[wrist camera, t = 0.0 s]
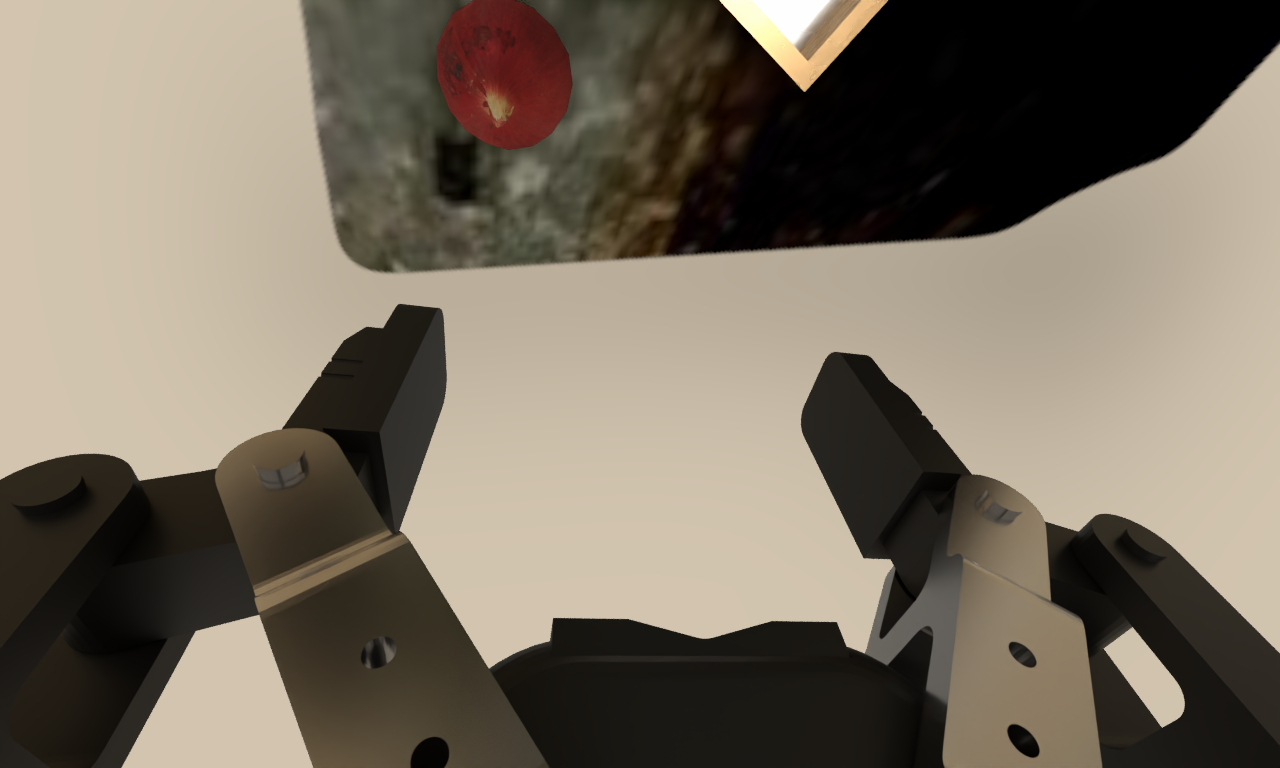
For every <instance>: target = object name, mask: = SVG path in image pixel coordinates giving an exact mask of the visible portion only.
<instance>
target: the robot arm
mask: <svg viewBox="0 0 1280 768" xmlns="http://www.w3.org/2000/svg"><path fill="white" fill-rule="evenodd" d="M445 355H446V354H445V336H444V319H443V313H442V310H441V309H440V308H432V307H423V306H414V305H405V304H398V305H397V306H396V308H395V310H394V311H393V313H392V315H391V316H390V318H389V320H388V321H387V323H386V324H385V326H384V328H372V327H366V328H364V329H362V330H360V331H359V332H357V333H356V334H354V335H352V336H351V337H349V338H347V339H346V340H344V341H343V343H342V344H341V346H340V347H339V348H338V350H337V351H336V353H335V354H334V355H333V357H332V361H331V362H329V363H328V364H327V365H326V367H325V368H324V370H323V371H322V373H321V377H318V378H317V380H316V381H315V383H314V384H313V386H312V387H311V388H310V390H309V391H308V393H307V394H306V395H305V397H304V398H303V400H302V401H301V403H300V404H299V406H298V407H297V408H296V410H295V411H294V413H293V414H292V415H291V417H290V418H289V420H288V421H287V423H286V424H285V426H284V427H283V428H282V430H276V431H272V432H268V433H264V434H262V435H259V436H256V437H254V438H251V439H250V440H247V441H245V442H244V443H242V444H240V445H238V446H237V447H236V448H234V449H233V450H232V451H230V452H229V453H228V454H227V455H226V456H225V457H224V458H223V460H222V461H221V463H220V464H219V466H218V468H216V469H212V470H206V471H201V472H195V473H188V474H181V475H175V476H168V477H163V478H155V479H149V480H142V481H139V480H138V478H137V476H136V475H135V473H134V471H133V470H132V468H131V466H130V465H129V464H128V463H127V462H125V461H124V460H122V459H120V458H117V457H115V456H110V455H103V454H79V455H70V456H65V457H60V458H55V459H51V460H47V461H44V462H40V463H37V464H35V465H32V466H29V467H26V468H24V469H22V470H19V471H17V472H15V473H13V474H11V475H9V476H7V477H5V478H3V479H1V480H0V768H121V767H122V765H123V763H124V762H125V760H126V758H127V756H128V754H129V752H130V751H131V749H132V747H133V745H134V743H135V742H136V740H137V738H138V736H139V734H140V732H141V731H142V729H143V727H144V725H145V723H146V721H147V719H148V718H149V716H150V714H151V712H152V710H153V708H154V707H155V705H156V703H157V701H158V699H159V697H160V696H161V694H162V692H163V690H164V688H165V686H166V684H167V683H168V681H169V679H170V677H171V675H172V673H173V672H174V669H175V668H176V666H177V664H178V662H179V661H180V659H181V657H182V655H183V653H184V651H185V649H186V647H187V646H188V644H189V642H190V640H191V638H192V637H193V635H194V633H195V631H197V630H201V629H205V628H209V627H213V626H216V625H221V624H224V623H228V622H232V621H236V620H240V619H244V618H248V617H251V616H256V615H260V618H261V621H262V624H263V626H264V629H265V632H266V635H267V638H268V641H269V644H270V646H271V649H272V652H273V655H274V657H275V661H276V663H277V666H278V669H279V672H280V675H281V678H282V680H283V683H284V686H285V689H286V692H287V694H288V697H289V700H290V703H291V706H292V708H293V711H294V714H295V717H296V720H297V723H298V726H299V728H300V731H301V734H302V737H303V740H304V742H305V745H306V748H307V751H308V754H309V757H310V760H311V762H312V765H313V768H1280V653H1279V652H1278V651H1277V650H1275V648H1274V647H1273V646H1271V644H1270V643H1269V642H1268V641H1267V640H1266V639H1265V638H1264V637H1263V636H1262V635H1261V634H1260V633H1259V632H1258V631H1257V630H1256V629H1255V628H1254V627H1252V625H1251V624H1250V623H1249V622H1247V620H1246V619H1245V618H1244V617H1243V616H1241V614H1240V613H1238V612H1237V610H1236V609H1235V608H1234V607H1233V606H1231V604H1230V603H1228V602H1227V601H1226V599H1224V597H1223V596H1222V595H1220V594H1219V593H1218V592H1217V591H1216V590H1215V589H1214V588H1213V587H1212V586H1211V585H1210V584H1209V583H1208V582H1207V581H1206V580H1205V579H1204V578H1203V577H1202V576H1201V575H1200V574H1199V573H1198V572H1197V571H1196V570H1195V569H1194V568H1193V567H1192V566H1191V565H1190V564H1189V563H1188V562H1187V561H1186V560H1185V559H1184V558H1183V557H1182V556H1181V555H1180V554H1179V553H1178V552H1177V551H1176V550H1175V549H1174V548H1173V547H1172V546H1171V545H1170V544H1168V543H1167V542H1166V541H1164V540H1163V539H1162V538H1161V537H1159V536H1158V535H1156V534H1155V533H1153V532H1151V531H1150V530H1148V529H1147V528H1145V527H1143V526H1141V525H1139V524H1137V523H1135V522H1133V521H1131V520H1128V519H1126V518H1123V517H1120V516H1116V515H1111V514H1099V515H1096V516H1095V517H1094V518H1093V519H1091V520H1090V521H1089V522H1088V523H1087V525H1085V526H1084V527H1083V528H1082V529H1081V530H1080V531H1079V532H1077V531H1074V530H1071V529H1067V528H1064V527H1061V526H1058V525H1054V524H1051V523H1048V522H1045V521H1044V519H1043V517H1042V515H1041V514H1040V512H1039V511H1038V510H1037V508H1036V507H1035V506H1034V505H1033V504H1032V503H1031V502H1030V501H1029V500H1028V499H1027V498H1026V497H1024V496H1023V495H1022V494H1020V493H1019V492H1018V491H1016V490H1015V489H1013V488H1011V487H1010V486H1008V485H1006V484H1004V483H1002V482H1000V481H998V480H995V479H992V478H989V477H986V476H981V475H972V474H971V473H970V471H969V470H968V469H967V468H966V466H965V465H964V464H963V463H962V462H961V460H960V459H959V458H958V457H957V455H956V454H955V453H954V452H953V450H952V449H951V448H950V447H949V445H948V444H947V443H946V442H945V440H944V439H943V438H942V437H941V435H940V434H939V433H938V432H937V430H933V425H932V424H931V423H930V422H929V420H928V419H927V418H926V417H925V416H922V412H921V410H920V409H919V408H918V407H917V405H916V404H915V403H914V402H913V401H912V399H911V398H910V397H909V396H908V395H907V394H906V393H905V392H903V391H902V390H901V389H899V388H898V387H897V386H895V385H894V384H893V383H891V382H890V381H889V380H888V378H887V377H886V376H885V374H884V373H883V372H882V371H881V369H880V368H879V367H878V365H877V364H876V363H875V362H874V360H873V359H872V358H871V357H869V356H867V355H859V354H850V353H840V352H833V353H831V354H830V355H829V356H828V357H827V358H826V359H825V361H824V363H823V366H822V368H821V370H820V372H819V374H818V377H817V379H816V381H815V383H814V386H813V388H812V390H811V392H810V394H809V396H808V399H807V401H806V403H805V405H804V408H803V411H802V417H801V428H802V433H803V435H804V437H805V440H806V442H807V444H808V446H809V448H810V450H811V452H812V454H813V456H814V458H815V460H816V462H817V464H818V466H819V468H820V470H821V472H822V474H823V476H824V478H825V480H826V483H827V485H828V487H829V489H830V491H831V493H832V495H833V497H834V499H835V501H836V503H837V505H838V507H839V509H840V511H841V513H842V515H843V517H844V519H845V521H846V523H847V525H848V527H849V529H850V531H851V533H852V535H853V537H854V540H855V542H856V544H857V545H858V547H859V549H860V552H861V554H862V556H863V558H871V559H891V561H892V563H893V564H894V566H893V568H892V569H891V570H890V572H889V573H888V574H887V576H886V579H885V582H884V585H883V589H882V593H881V597H880V600H879V604H878V608H877V612H876V616H875V619H874V623H873V627H872V631H871V634H870V638H869V642H868V646H867V649H866V652H865V654H864V653H862V652H859V651H857V650H854V649H852V648H849V647H846V644H845V642H844V639H843V637H842V634H841V632H840V629H839V627H838V624H837V622H789V621H788V622H787V621H771V622H768V623H764V624H761V625H757V626H753V627H750V628H746V629H743V630H739V631H735V632H732V633H728V634H725V635H721V636H718V637H714V638H710V639H700V638H696V637H692V636H688V635H685V634H681V633H677V632H674V631H670V630H666V629H663V628H659V627H655V626H651V625H648V624H644V623H640V622H637V621H633V620H629V619H581V618H553V624H552V631H551V638H550V641H549V642H545V643H542V644H538V645H534V646H532V647H529V648H527V649H524V650H522V651H519V652H517V653H515V654H513V655H511V656H509V657H507V658H506V659H504V660H502V661H500V662H498V663H497V664H495V665H494V666H492V667H491V668H490V669H489V668H488V667H487V665H486V664H485V662H484V660H483V659H482V657H481V655H480V654H479V652H478V651H477V649H476V647H475V646H474V644H473V642H472V641H471V639H470V638H469V636H468V634H467V633H466V631H465V630H464V628H463V626H462V625H461V623H460V621H459V620H458V618H457V616H456V615H455V613H454V612H453V610H452V608H451V607H450V605H449V603H448V602H447V600H446V599H445V597H444V595H443V594H442V592H441V590H440V589H439V587H438V586H437V584H436V582H435V581H434V579H433V577H432V576H431V574H430V573H429V571H428V569H427V568H426V566H425V564H424V563H423V561H422V560H421V558H420V556H419V555H418V553H417V551H416V550H415V548H414V547H413V545H412V544H411V542H410V541H409V539H408V538H407V537H406V536H405V535H404V534H403V533H402V532H400V531H399V530H400V527H401V524H402V521H403V518H404V515H405V512H406V509H407V507H408V504H409V501H410V498H411V495H412V493H413V490H414V486H415V484H416V481H417V478H418V475H419V472H420V470H421V466H422V464H423V461H424V458H425V455H426V452H427V450H428V447H429V444H430V441H431V438H432V435H433V432H434V429H435V426H436V423H437V421H438V418H439V415H440V412H441V409H442V406H443V403H444V399H445V392H446V381H447V373H446V356H445ZM1132 627H1133V628H1134V629H1135V630H1136V632H1137V633H1138V634H1139V635H1140V636H1141V638H1142V639H1143V640H1144V641H1145V643H1146V644H1147V645H1148V646H1149V648H1150V649H1151V650H1152V651H1153V653H1155V655H1156V656H1157V657H1158V659H1159V660H1160V661H1161V662H1162V664H1163V665H1164V666H1165V667H1166V669H1167V670H1168V671H1169V672H1170V673H1171V675H1172V676H1173V677H1174V678H1175V680H1176V681H1177V682H1178V684H1179V686H1180V688H1181V690H1182V692H1183V695H1184V699H1185V708H1184V712H1183V714H1182V715H1181V717H1180V718H1178V719H1177V720H1176V721H1174V722H1172V723H1170V724H1168V725H1167V726H1165V727H1163V728H1162V727H1161V726H1160V725H1159V723H1158V722H1157V721H1156V719H1155V718H1154V716H1153V715H1152V714H1151V712H1150V711H1149V710H1148V708H1147V707H1146V706H1145V704H1144V703H1143V702H1142V700H1141V699H1140V698H1139V696H1138V695H1137V694H1136V692H1135V691H1134V689H1133V688H1132V687H1131V685H1130V684H1129V683H1128V681H1127V680H1126V679H1125V677H1124V676H1123V675H1122V673H1121V672H1120V670H1119V669H1118V668H1117V666H1116V665H1115V664H1114V662H1113V661H1112V660H1111V658H1110V657H1109V656H1108V654H1107V653H1106V651H1105V650H1104V648H1105V647H1106V646H1108V645H1109V644H1110V643H1112V642H1113V641H1114V640H1116V639H1117V638H1118V637H1120V636H1121V635H1122V634H1124V633H1125V632H1126V631H1128V630H1129V629H1130V628H1132Z"/></svg>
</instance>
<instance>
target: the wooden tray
mask: <svg viewBox="0 0 1280 768" xmlns="http://www.w3.org/2000/svg"><path fill="white" fill-rule="evenodd" d="M720 1H721V2H722V4H723V5H724V6H725V7H726V8H727V9H728V10H729V11H730V12H731V13H732V14H733V15H734V16H735V18H736V19H737V20H738V21H739V22H740V23H741V24H742V25H743V26H744V27H745V28H746V29H747V30H748V32H749V33H750V34H751V35H752V36H753V37H754V38H755V39H756V40H757V41H758V42H759V43H760V44H761V46H762V47H763V48H764V49H765V50H766V51H767V52H768V53H769V54H770V55H771V56H772V57H773V58H774V60H775V61H776V62H777V63H778V64H779V65H780V66H781V67H782V68H783V69H784V70H785V71H786V72H787V74H788V75H789V76H790V77H791V78H792V79H793V80H794V81H795V82H796V83H797V84H798V85H799V86H800V88H801V89H802V90H803V91H804V92H805V91H806V90H807V89H808V88H809V87H810V86H811V85H812V83H813V82H814V81H815V80H816V79H817V78H818V77H819V76H820V75H821V73H822V72H823V71H824V70H825V69H826V68H827V67H828V66H829V65H830V64H831V62H832V61H833V60H834V59H835V58H836V57H837V56H838V55H839V54H840V53H841V51H842V50H843V49H844V48H845V47H846V46H847V45H848V44H849V43H850V42H851V40H852V39H853V38H854V37H855V36H856V35H857V34H858V33H859V32H860V31H861V29H862V28H863V27H864V26H865V25H866V24H867V23H868V22H869V21H870V20H871V18H872V17H873V16H874V15H875V14H876V13H877V12H878V11H879V10H880V8H881V7H882V6H883V5H884V4H885V3H886V2H887V1H888V0H720Z"/></svg>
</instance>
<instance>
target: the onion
mask: <svg viewBox="0 0 1280 768" xmlns="http://www.w3.org/2000/svg"><path fill="white" fill-rule="evenodd" d="M437 79H438V81H439V84H440V86H441V89H442V91H443V94H444V97H445V99H446V102H447V105H448V107H449V110H450V111H451V112H452V114H453V115H454V116H455V117H456V119H457V120H458V121H459V122H460V124H461V125H462V126H463V127H464V129H465V130H466V131H468V132H469V133H471V134H473V135H474V136H476V137H477V138H479V139H480V140H482V141H483V142H485V143H487V144H490V145H494V146H497V147H500V148H504V149H507V150H511V149H518V148H524V147H530V146H534V145H535V144H537V143H538V142H540V141H541V140H543V139H544V138H546V137H547V136H549V135H550V134H551V133H552V132H553V131H554V129H555V128H556V126H557V125H558V123H559V122H560V120H561V119H562V117H563V116H564V114H565V113H566V111H567V108H568V103H569V99H570V94H571V89H572V85H573V84H572V76H571V69H570V62H569V54H568V52H567V51H566V49H565V47H564V45H563V43H562V42H561V40H560V38H559V36H558V34H557V33H556V31H555V29H554V27H553V26H551V25H550V24H549V23H548V22H547V21H546V20H545V19H544V18H543V17H542V16H541V15H540V14H539V13H538V12H537V11H536V10H535V9H534V8H532V7H530V6H528V5H525V4H523V3H521V2H518V1H516V0H474V1H472V2H471V3H469V4H467V5H466V6H464V7H462V8H461V9H459V10H457V11H456V12H454V13H453V14H452V16H451V18H450V20H449V22H448V24H447V26H446V28H445V30H444V32H443V34H442V36H441V38H440V40H439V42H438V46H437Z"/></svg>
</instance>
